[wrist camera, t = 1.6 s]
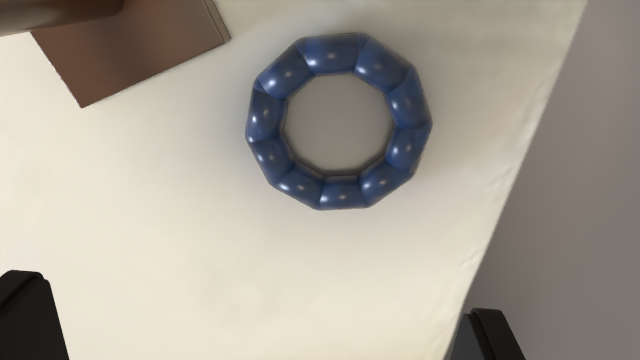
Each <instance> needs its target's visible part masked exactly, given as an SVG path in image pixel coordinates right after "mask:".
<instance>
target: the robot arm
mask: <svg viewBox="0 0 640 360" xmlns="http://www.w3.org/2000/svg"><path fill="white" fill-rule="evenodd" d="M0 360H69V356H68V353H67V349H66V345H65V341H64V337H63V333H62V329H61V325H60V321H59V317H58V314H57V310H56V306H55V302H54V298H53V294H52V290H51V286H50V283H49V281H48V280H46V279H44V278H43V275H42V274H41V273H39V272H32V271H19V270H10V271H8V272H6V273H5V274H3V275H2V276H1V277H0ZM450 360H526V359H525V357H524V355H523V353H522V351H521V349H520V347H519V345H518V343H517V341H516V339H515V337H514V335H513V333H512V331H511V329H510V327H509V325H508V323H507V320H506V318H505V316H504V315H503V313H502V311H500V310H496V309H484V308H473V309H472V310H471V312H470V314H464V315H463V316H462V319H461V322H460V326H459V329H458V333H457V336H456V340H455V343H454V347H453V351H452V354H451V357H450Z"/></svg>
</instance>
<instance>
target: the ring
mask: <svg viewBox="0 0 640 360" xmlns="http://www.w3.org/2000/svg"><path fill="white" fill-rule="evenodd" d="M342 74H354V75H355V76H357V77H358V78H360V79H362V80H363V81H365V82H366V83H368V84H370V85H371V86H373V87H374V88H376V89H378V90H379V91H381V92H382V93H383V94H384V97H385V100H386V102H387V105H388V108H389V111H390V113H391V116H392V119H393V122H394V127H393V130H392V133H391V137H390V140H389V143H388V146H387V149H386V152H385V155H384V156H383V157H381V158H380V159H379V160H377V161H376V162H375V163H373V164H372V165H370V166H369V167H368V168H366V169H365V170H364V171H362V172H361V173H360V174H358V175H348V176H332V177H324V176H322V175H320V174H318V173H317V172H315V171H313V170H311V169H309V168H308V167H306V166H304V165H302V164H301V163H299V162H297V161H296V160H295V158H294V156H293V154H292V152H291V150H290V148H289V146H288V144H287V142H286V140H285V137H284V135H283V133H282V129H283V124H284V119H285V114H286V109H287V104H288V100H289V99H290V98H291V97H292V96H294V95H295V94H296V93H297V92H298V91H299V90H300V89H302V88H303V87H304V86H305V85H306V84H307V83H308V82H310V81H311V80H312V79H313V78H314V77H317V76H330V75H342ZM432 125H433V121H432V116H431V113H430V110H429V107H428V104H427V101H426V98H425V95H424V92H423V89H422V85H421V82H420V79H419V76H418V73H417V71H416V69H415V67H414V66H413V65H412V64H411V63H409V62H408V61H406V60H404V59H403V58H401V57H400V56H398V55H397V54H395V53H394V52H392V51H391V50H389V49H388V48H386V47H385V46H383V45H382V44H380V43H378V42H377V41H375V40H374V39H372V38H371V37H369V36H368V35H366V34H363V33H349V34H337V35H325V36H314V37H304V38H301V39H298V40H297V41H295V42H294V43H293V44H292V45H291V46H290V47H289V48H288V49H287V50H286V51H284V52H283V53H282V54H281V55H280V56H279V57H278V58H277V59H276V60H275V61H274V62H272V63H271V64H270V65H269V66H268V67H267V68H266V69H265V70H264V71H263V72H262V73H261V74H259V75H258V76H257V78H256V79H255V81H254V84H253V88H252V94H251V100H250V106H249V113H248V119H247V125H246V131H245V136H246V140H247V142H248V144H249V146H250V148H251V150H252V152H253V154H254V156H255V158H256V160H257V162H258V164H259V165H260V167H261V169H262V171H263V173H264V175H265V177H266V179H267V181H268V182H269V184H270V185H271V186H272V187H274V188H276V189H277V190H279V191H281V192H283V193H285V194H287V195H288V196H290V197H292V198H294V199H296V200H298V201H300V202H301V203H303V204H305V205H307V206H309V207H311V208H312V209H315V210H319V211H323V210H340V209H358V208H368V207H371V206H373V205H375V204H376V203H377V202H379V201H380V200H382V199H383V198H384V197H386V196H387V195H389V194H390V193H392V192H393V191H394V190H396V189H397V188H399V187H400V186H401V185H403V184H404V183H406V182H407V181H409V180H410V179H411V178H412V177H413V176H414V175H415V173H416V170H417V168H418V165H419V162H420V159H421V157H422V154H423V151H424V149H425V146H426V143H427V140H428V138H429V135H430V132H431V129H432Z"/></svg>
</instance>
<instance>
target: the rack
mask: <svg viewBox="0 0 640 360" xmlns="http://www.w3.org/2000/svg"><path fill="white" fill-rule="evenodd" d="M24 32H30V33H31V35H32V36H33V38H34V39H35V41H36V42H37V44H38V45H39V47H40V48H41V50H42V51H43V53H44V54H45V56H46V57H47V59H48V60H49V62H50V63H51V65H52V66H53V67H54V69H55V70H56V72H57V73H58V75H59V76H60V78H61V79H62V81H63V82H64V84H65V85H66V87H67V88H68V90H69V91H70V93H71V94H72V96H73V97H74V99H75V100H76V102H77V103H78V105H79V106H80V108H85V107H87V106H89V105H91V104H93V103H95V102H98V101H100V100H102V99H104V98H106V97H109V96H111V95H113V94H115V93H117V92H120V91H122V90H124V89H126V88H128V87H131V86H133V85H135V84H137V83H139V82H141V81H144V80H146V79H148V78H150V77H152V76H155V75H157V74H159V73H161V72H163V71H166V70H168V69H170V68H172V67H174V66H177V65H179V64H181V63H183V62H185V61H187V60H190V59H192V58H194V57H196V56H198V55H201V54H203V53H205V52H207V51H209V50H212V49H214V48H216V47H218V46H220V45H222V44H225V43H226V42H228V41H230V40H231V38H230V36H229V34H228V31H227V29H226V27H225V25H224V23H223V21H222V19H221V17H220V15H219V13H218V11H217V9H216V7H215V5H214V3H213V1H212V0H0V37H2V36H8V35H13V34H19V33H24Z"/></svg>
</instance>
